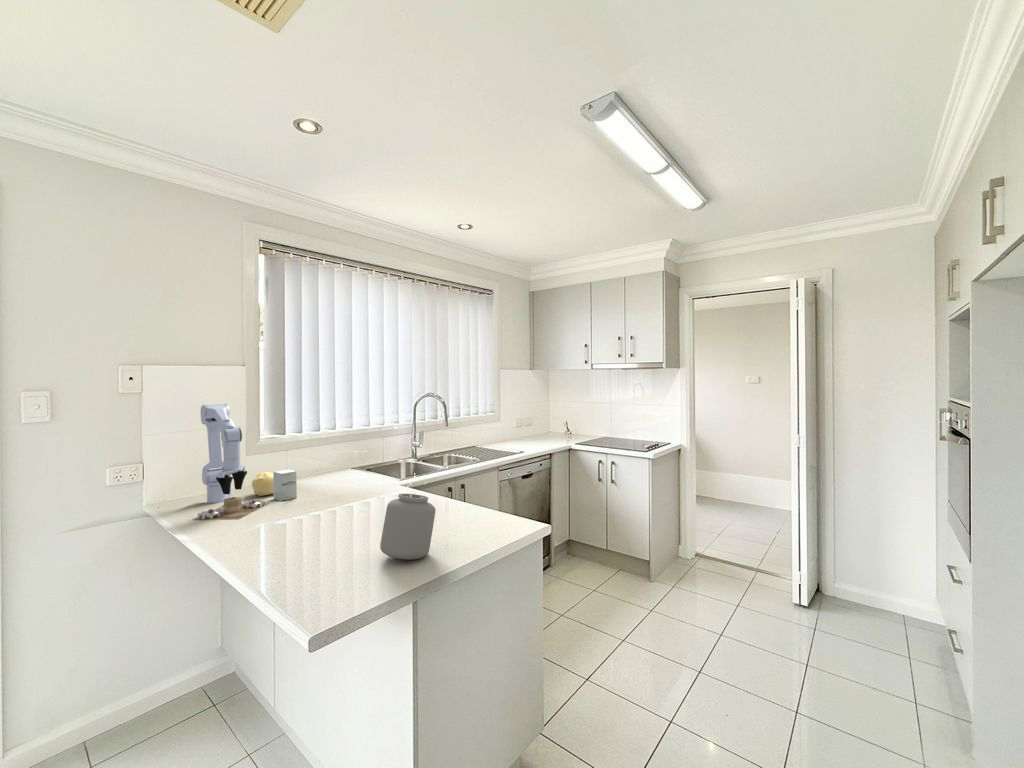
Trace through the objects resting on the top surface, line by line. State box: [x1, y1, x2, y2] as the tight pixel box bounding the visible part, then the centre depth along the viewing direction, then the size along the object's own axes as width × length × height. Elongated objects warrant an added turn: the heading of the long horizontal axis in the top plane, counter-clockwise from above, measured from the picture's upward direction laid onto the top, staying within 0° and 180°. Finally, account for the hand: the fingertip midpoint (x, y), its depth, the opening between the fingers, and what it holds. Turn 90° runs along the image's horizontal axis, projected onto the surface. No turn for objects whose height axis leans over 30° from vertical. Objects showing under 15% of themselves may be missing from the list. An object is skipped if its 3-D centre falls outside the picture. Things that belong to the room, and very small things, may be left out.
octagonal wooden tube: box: [223, 496, 242, 513], centre depth 179 cm, size 6×6×5 cm
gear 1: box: [197, 508, 224, 521], centre depth 172 cm, size 8×8×2 cm
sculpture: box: [251, 471, 274, 497], centre depth 211 cm, size 12×12×11 cm
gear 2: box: [241, 499, 266, 509], centre depth 185 cm, size 8×8×3 cm
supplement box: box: [272, 469, 298, 502], centre depth 203 cm, size 7×7×13 cm
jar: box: [379, 472, 437, 560], centre depth 135 cm, size 19×15×25 cm
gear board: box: [191, 502, 271, 521], centre depth 179 cm, size 22×18×5 cm
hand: (232, 491), depth 179 cm, fingers open, 7 cm apart
